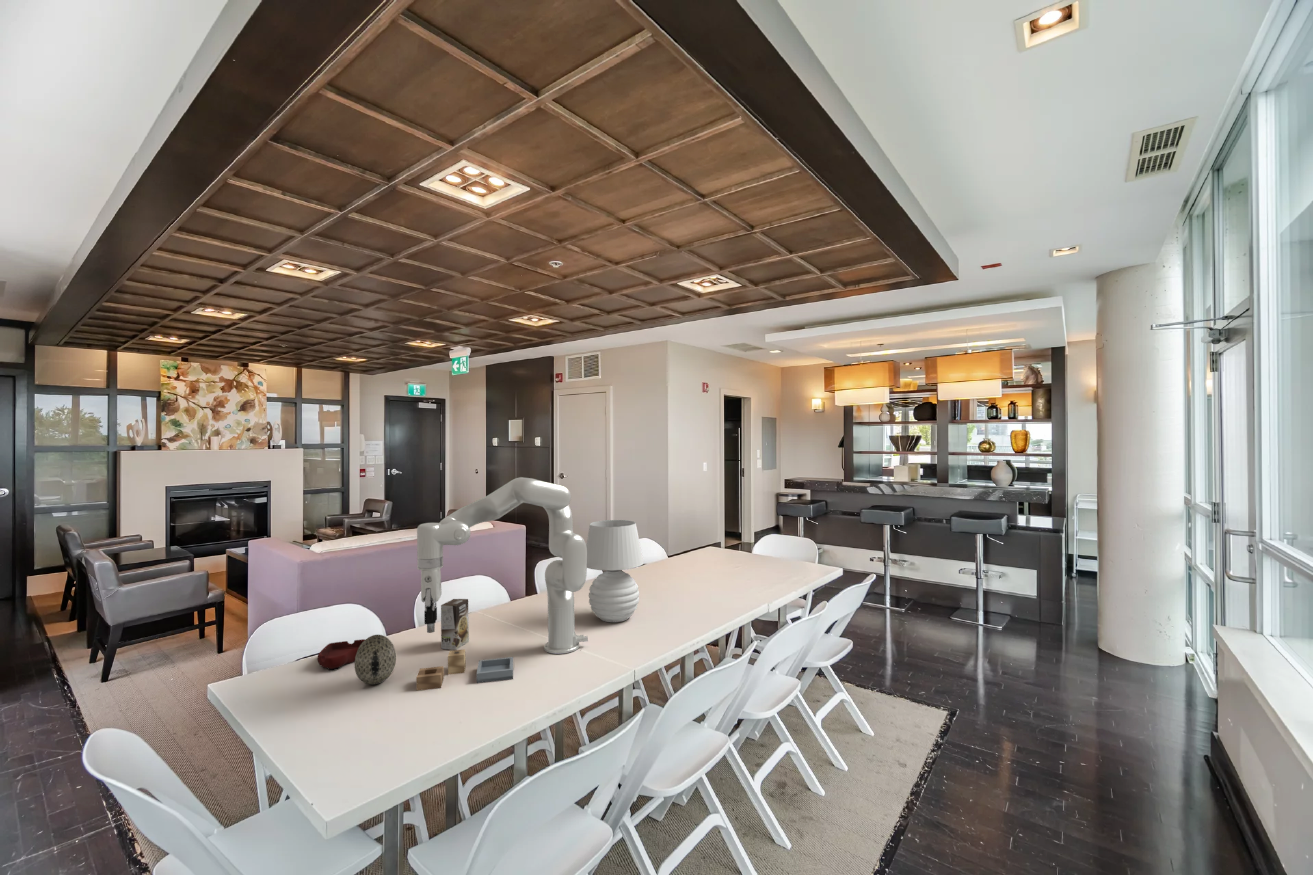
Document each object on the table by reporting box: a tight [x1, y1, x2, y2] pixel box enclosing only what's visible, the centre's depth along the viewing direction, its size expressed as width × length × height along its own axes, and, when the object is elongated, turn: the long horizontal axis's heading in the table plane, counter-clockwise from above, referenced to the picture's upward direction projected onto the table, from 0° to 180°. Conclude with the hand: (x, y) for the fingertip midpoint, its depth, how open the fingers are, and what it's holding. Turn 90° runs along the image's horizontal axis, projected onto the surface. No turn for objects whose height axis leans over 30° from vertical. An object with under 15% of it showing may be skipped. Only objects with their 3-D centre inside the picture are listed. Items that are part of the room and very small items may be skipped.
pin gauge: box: [426, 599, 436, 634], centre depth 179 cm, size 2×2×10 cm
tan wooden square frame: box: [415, 665, 445, 692], centre depth 179 cm, size 7×7×4 cm
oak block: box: [447, 648, 467, 675], centre depth 189 cm, size 5×5×6 cm
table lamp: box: [586, 519, 645, 623], centre depth 241 cm, size 25×25×40 cm
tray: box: [476, 656, 514, 684], centre depth 186 cm, size 11×11×3 cm
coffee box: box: [440, 598, 470, 651], centre depth 213 cm, size 9×6×16 cm
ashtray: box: [317, 638, 366, 672], centre depth 200 cm, size 18×16×5 cm
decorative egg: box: [354, 634, 397, 685], centre depth 181 cm, size 12×12×15 cm
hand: (430, 621), depth 179 cm, fingers closed on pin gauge, 2 cm apart
